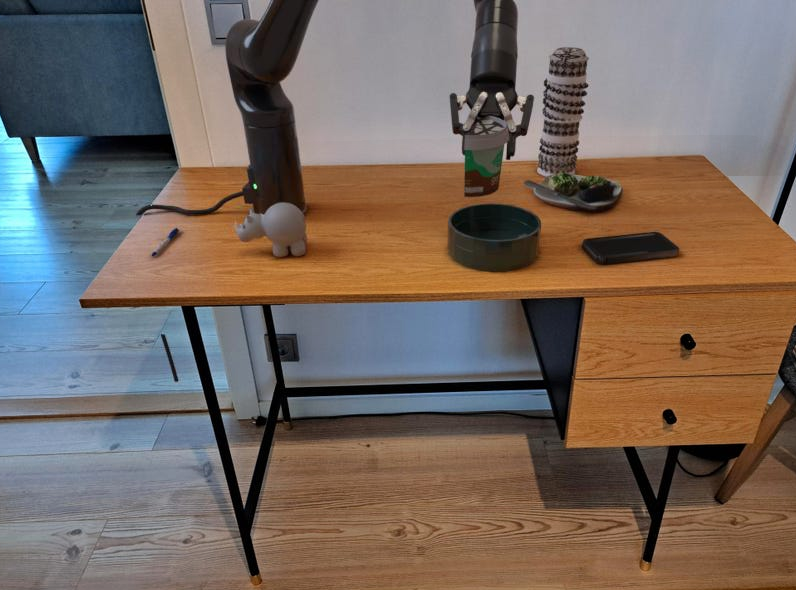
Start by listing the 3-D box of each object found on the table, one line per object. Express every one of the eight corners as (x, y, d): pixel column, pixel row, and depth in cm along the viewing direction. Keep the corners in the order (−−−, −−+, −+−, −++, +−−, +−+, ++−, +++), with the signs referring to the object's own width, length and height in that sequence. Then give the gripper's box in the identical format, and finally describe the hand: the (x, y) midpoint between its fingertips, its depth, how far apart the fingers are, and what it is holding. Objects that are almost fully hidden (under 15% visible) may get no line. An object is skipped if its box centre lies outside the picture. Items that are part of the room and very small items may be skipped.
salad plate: (509, 203, 128) (511, 180, 126) (538, 175, 141) (540, 154, 139) (605, 220, 121) (609, 197, 119) (626, 189, 134) (630, 168, 132)
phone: (580, 239, 112) (658, 231, 114) (579, 245, 113) (657, 236, 115) (599, 259, 106) (682, 250, 108) (598, 265, 106) (680, 256, 109)
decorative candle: (544, 180, 139) (557, 55, 124) (529, 166, 146) (540, 46, 131) (583, 177, 140) (600, 52, 126) (566, 163, 148) (581, 44, 133)
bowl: (443, 269, 105) (443, 238, 102) (452, 230, 118) (452, 201, 115) (538, 274, 104) (542, 243, 101) (537, 234, 117) (540, 205, 113)
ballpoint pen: (175, 231, 117) (173, 226, 117) (179, 231, 117) (178, 226, 117) (151, 257, 109) (150, 251, 108) (156, 257, 109) (155, 252, 108)
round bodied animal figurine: (243, 243, 114) (235, 197, 109) (311, 241, 114) (306, 195, 109) (235, 261, 108) (226, 214, 103) (307, 259, 108) (301, 212, 103)
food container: (501, 203, 100) (506, 138, 94) (462, 200, 101) (464, 136, 95) (509, 175, 109) (513, 114, 104) (473, 172, 110) (476, 113, 105)
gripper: (536, 76, 108) (531, 169, 106) (451, 74, 110) (444, 166, 107) (540, 47, 101) (534, 147, 99) (449, 46, 102) (441, 144, 100)
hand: (487, 156), depth 103 cm, fingers closed on food container, 6 cm apart
